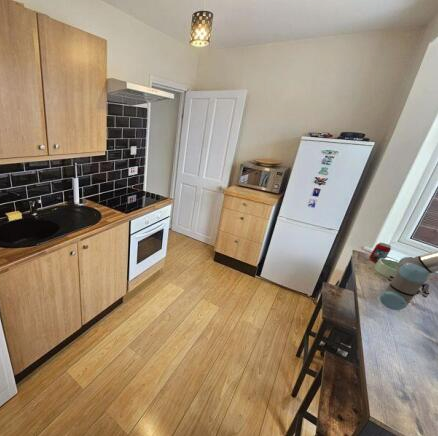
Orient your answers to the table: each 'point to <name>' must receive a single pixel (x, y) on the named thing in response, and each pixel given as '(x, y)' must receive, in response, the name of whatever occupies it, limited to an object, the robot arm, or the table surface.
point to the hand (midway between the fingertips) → (417, 276)
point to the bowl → (386, 267)
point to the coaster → (410, 303)
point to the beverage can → (380, 252)
